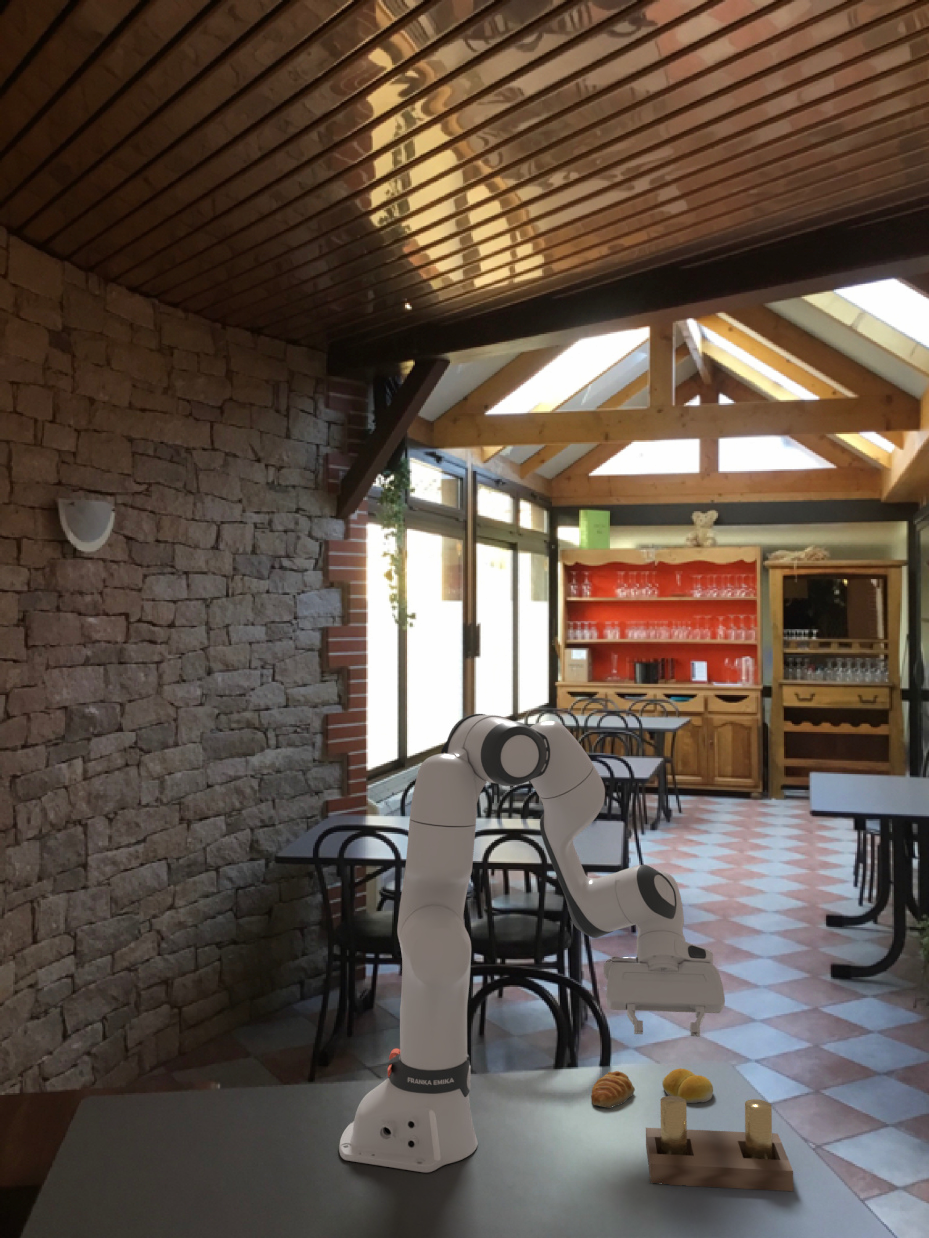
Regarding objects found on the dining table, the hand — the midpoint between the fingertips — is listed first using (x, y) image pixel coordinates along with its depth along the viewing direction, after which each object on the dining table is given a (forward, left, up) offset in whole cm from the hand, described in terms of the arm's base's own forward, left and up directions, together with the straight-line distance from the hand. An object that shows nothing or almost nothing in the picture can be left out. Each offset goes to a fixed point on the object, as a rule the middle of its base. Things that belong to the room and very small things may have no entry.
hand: (666, 1033), depth 175 cm
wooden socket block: (+7, -12, -16) cm, 21 cm away
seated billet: (+13, -12, -16) cm, 24 cm away
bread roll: (+5, +15, -17) cm, 23 cm away
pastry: (-9, +12, -17) cm, 22 cm away
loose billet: (0, -12, -16) cm, 20 cm away
